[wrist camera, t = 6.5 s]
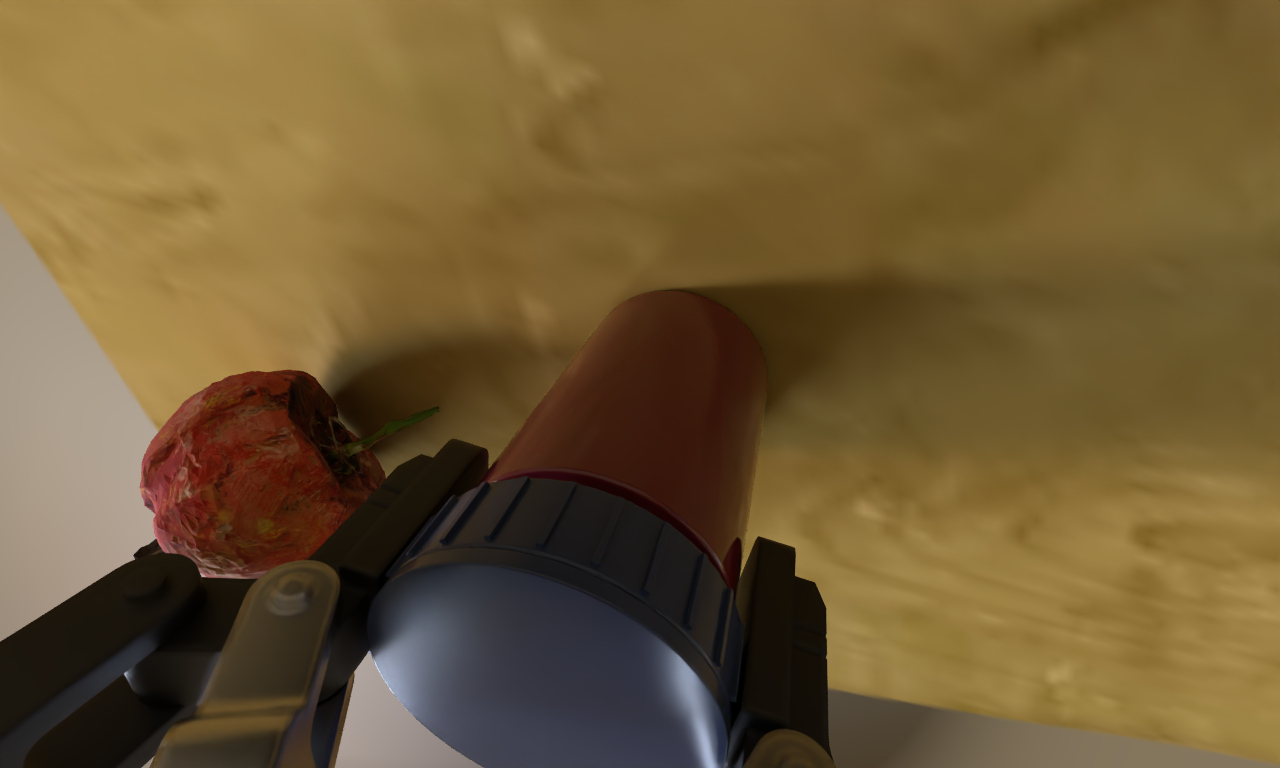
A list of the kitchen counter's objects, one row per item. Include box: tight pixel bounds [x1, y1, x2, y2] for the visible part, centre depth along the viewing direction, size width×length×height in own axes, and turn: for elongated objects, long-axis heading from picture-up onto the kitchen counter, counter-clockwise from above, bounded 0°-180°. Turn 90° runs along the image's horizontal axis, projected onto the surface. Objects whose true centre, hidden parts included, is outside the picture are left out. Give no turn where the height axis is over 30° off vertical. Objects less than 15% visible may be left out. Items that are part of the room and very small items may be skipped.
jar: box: [475, 291, 768, 603], centre depth 13 cm, size 5×5×10 cm
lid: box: [366, 476, 746, 768], centre depth 10 cm, size 6×6×2 cm
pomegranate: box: [133, 370, 439, 579], centre depth 19 cm, size 7×7×10 cm
